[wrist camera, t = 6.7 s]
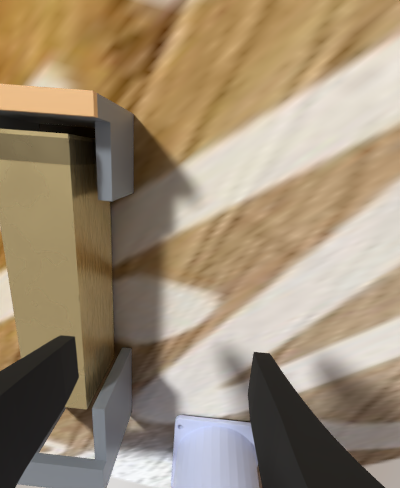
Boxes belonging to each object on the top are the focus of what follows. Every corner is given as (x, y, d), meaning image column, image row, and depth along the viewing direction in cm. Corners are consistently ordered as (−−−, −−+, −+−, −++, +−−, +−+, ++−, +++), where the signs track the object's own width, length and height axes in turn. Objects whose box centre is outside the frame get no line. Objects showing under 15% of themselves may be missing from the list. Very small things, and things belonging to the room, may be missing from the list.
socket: (133, 192, 18) (97, 206, 13) (33, 184, 19) (-45, 194, 13) (133, 114, 17) (92, 90, 11) (24, 105, 17) (-68, 79, 12)
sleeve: (131, 411, 25) (104, 494, 18) (59, 403, 25) (8, 483, 19) (131, 348, 22) (100, 418, 16) (52, 340, 23) (-8, 406, 16)
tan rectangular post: (115, 356, 22) (87, 410, 18) (67, 351, 23) (26, 403, 18) (109, 141, 17) (68, 133, 12) (48, 136, 17) (-17, 127, 13)
